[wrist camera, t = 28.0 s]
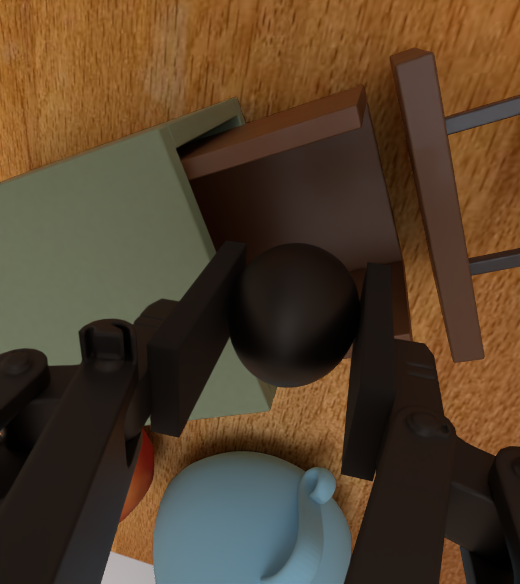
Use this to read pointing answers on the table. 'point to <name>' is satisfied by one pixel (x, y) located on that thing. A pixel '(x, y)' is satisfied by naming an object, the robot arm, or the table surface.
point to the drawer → (351, 190)
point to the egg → (293, 314)
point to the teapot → (250, 524)
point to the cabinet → (113, 248)
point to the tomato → (140, 477)
